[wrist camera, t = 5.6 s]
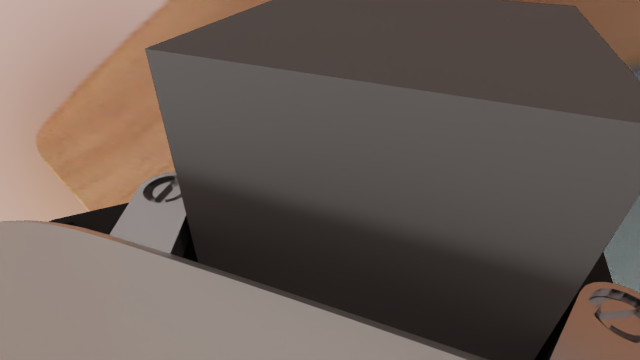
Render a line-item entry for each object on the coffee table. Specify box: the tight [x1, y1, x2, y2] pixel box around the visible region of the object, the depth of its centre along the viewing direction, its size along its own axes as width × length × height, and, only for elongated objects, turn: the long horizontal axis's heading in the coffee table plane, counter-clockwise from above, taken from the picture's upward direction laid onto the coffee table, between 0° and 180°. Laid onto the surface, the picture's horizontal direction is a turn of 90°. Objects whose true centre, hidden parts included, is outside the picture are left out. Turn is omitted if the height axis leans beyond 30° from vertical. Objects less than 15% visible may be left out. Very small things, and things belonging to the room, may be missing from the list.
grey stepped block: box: [145, 0, 640, 360], centre depth 10 cm, size 6×13×6 cm, turn 178°
